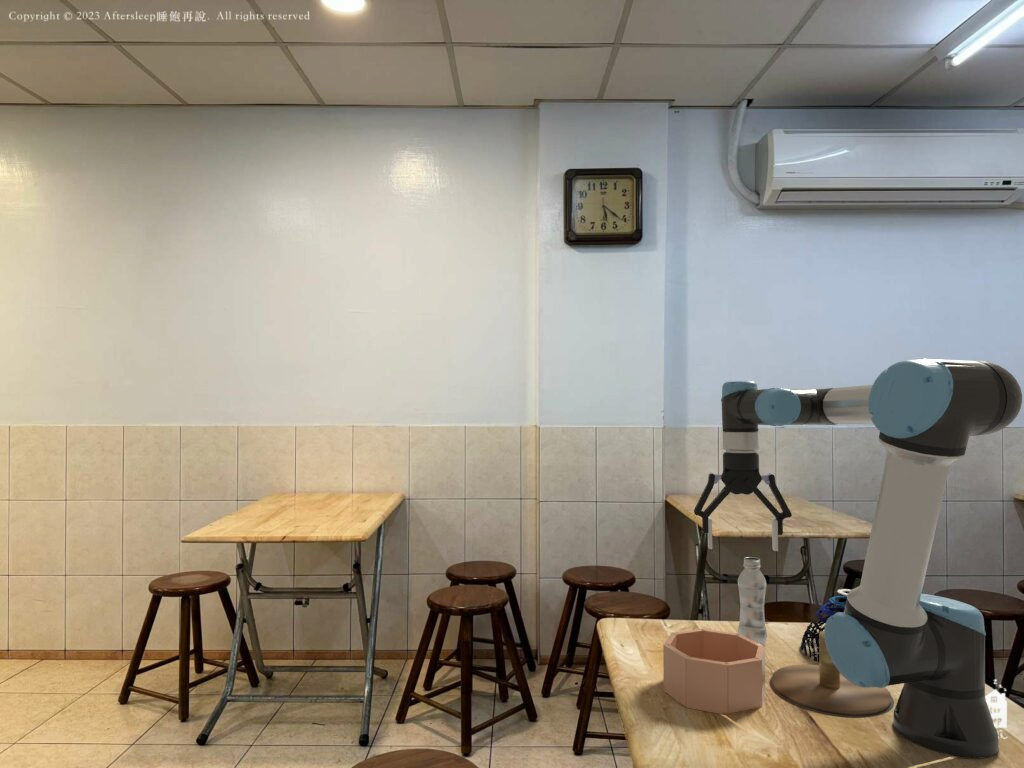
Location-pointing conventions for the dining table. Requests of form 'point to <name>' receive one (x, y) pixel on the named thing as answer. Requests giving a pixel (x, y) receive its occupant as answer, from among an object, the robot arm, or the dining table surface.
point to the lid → (828, 688)
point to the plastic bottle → (752, 601)
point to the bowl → (714, 670)
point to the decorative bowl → (814, 633)
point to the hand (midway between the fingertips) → (742, 549)
